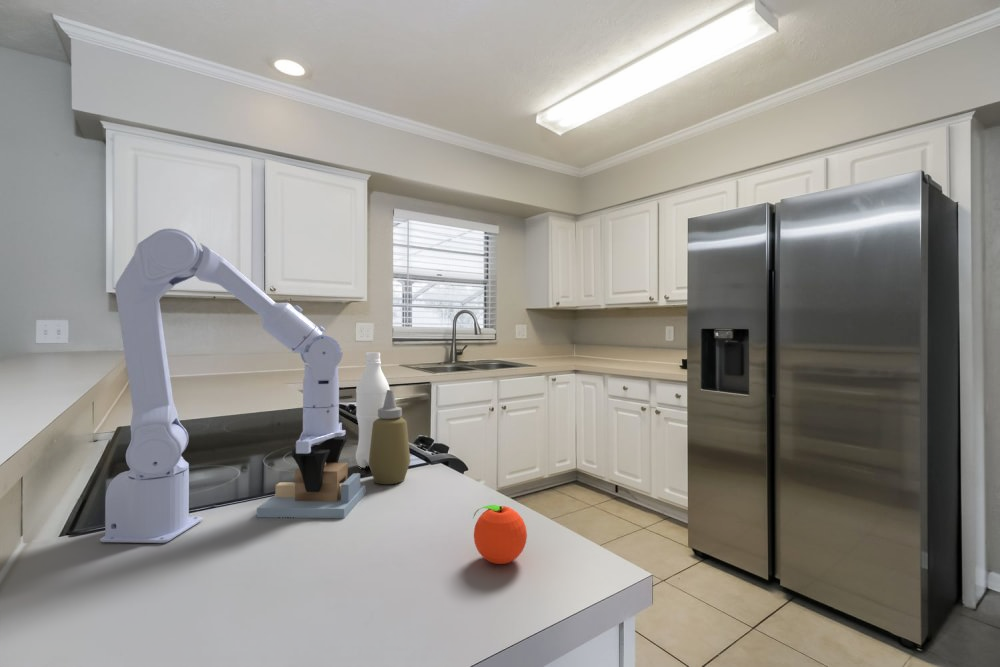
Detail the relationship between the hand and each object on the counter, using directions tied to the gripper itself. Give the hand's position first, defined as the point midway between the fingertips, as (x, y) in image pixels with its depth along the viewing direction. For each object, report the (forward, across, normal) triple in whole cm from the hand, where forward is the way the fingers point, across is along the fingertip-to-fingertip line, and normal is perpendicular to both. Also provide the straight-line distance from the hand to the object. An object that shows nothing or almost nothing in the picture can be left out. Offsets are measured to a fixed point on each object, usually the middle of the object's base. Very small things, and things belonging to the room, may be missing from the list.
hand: (320, 484), depth 78 cm
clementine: (+4, -18, -30) cm, 36 cm away
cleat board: (+3, 0, +1) cm, 4 cm away
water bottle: (+4, +22, -2) cm, 22 cm away
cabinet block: (+2, 0, 0) cm, 2 cm away
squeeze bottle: (+4, +13, -8) cm, 16 cm away
